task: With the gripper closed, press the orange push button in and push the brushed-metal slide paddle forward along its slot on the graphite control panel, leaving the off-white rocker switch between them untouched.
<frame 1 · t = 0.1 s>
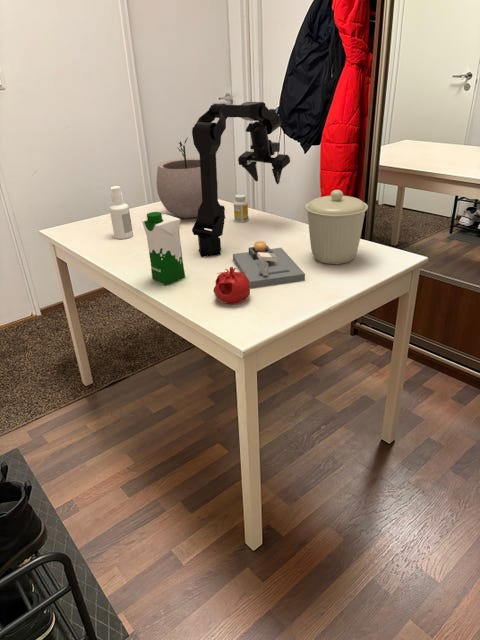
hand: (267, 182, 176), 15 cm above the table, fingers open, 9 cm apart
milk carton: (169, 279, 144), on the table
red pomegranate: (232, 299, 130), on the table
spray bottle: (124, 236, 179), on the table
control panel: (266, 269, 146), on the table
supplement bottle: (241, 220, 189), on the table
push button: (260, 246, 149), point 5 cm above the table, slide at 0.0 cm
paddle: (263, 267, 137), point 4 cm above the table, slide at 0.0 cm
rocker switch: (267, 256, 143), point 4 cm above the table, hinge at 12.0°
plant pot: (190, 216, 198), on the table
canister: (333, 258, 151), on the table
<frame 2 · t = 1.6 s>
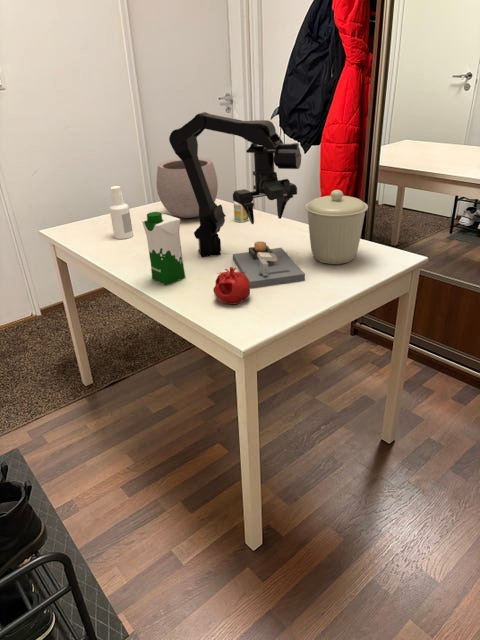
hand: (266, 221, 147), 12 cm above the table, fingers open, 9 cm apart
nothing on the table moved.
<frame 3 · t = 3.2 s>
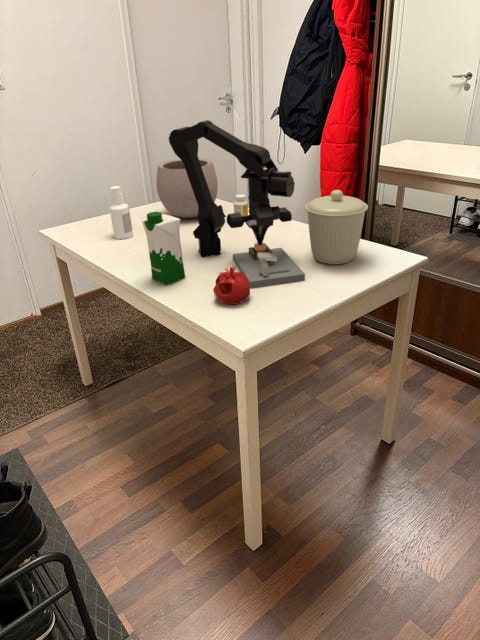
hand: (259, 244, 149), 5 cm above the table, fingers closed, pressing on push button
push button: (260, 247, 150), point 4 cm above the table, slide at 0.4 cm, touching gripper
everything else where it was.
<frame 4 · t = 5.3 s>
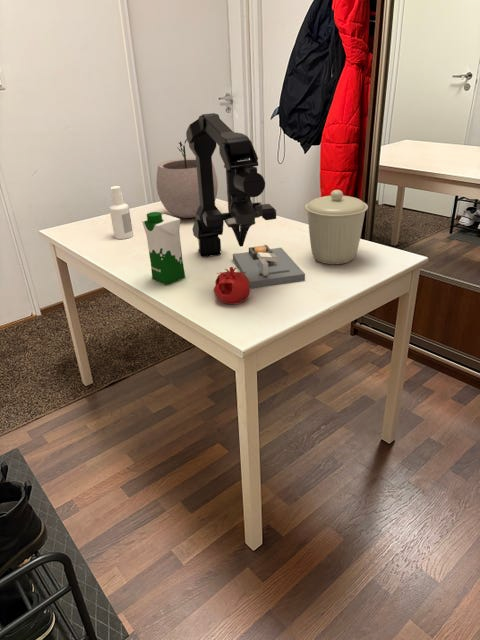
hand: (241, 246, 132), 11 cm above the table, fingers closed
push button: (260, 251, 150), point 3 cm above the table, slide at 1.5 cm
everything else where it was.
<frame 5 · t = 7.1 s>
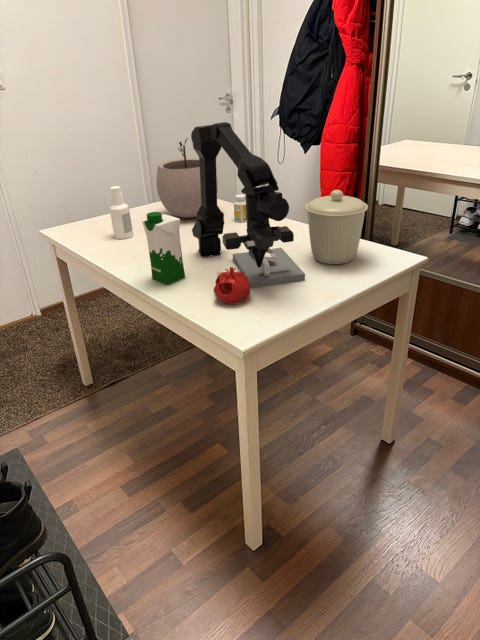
hand: (258, 266, 136), 5 cm above the table, fingers closed
paddle: (265, 267, 137), point 4 cm above the table, slide at 0.4 cm, touching gripper
everything else where it was.
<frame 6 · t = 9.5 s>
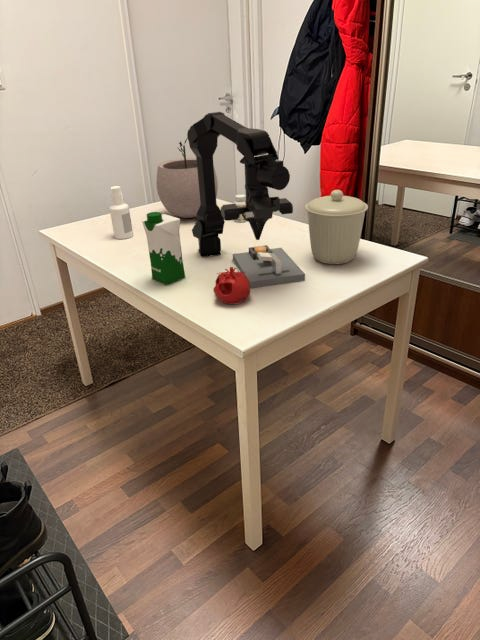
hand: (257, 239, 135), 12 cm above the table, fingers closed
paddle: (276, 265, 137), point 4 cm above the table, slide at 3.8 cm
everything else where it was.
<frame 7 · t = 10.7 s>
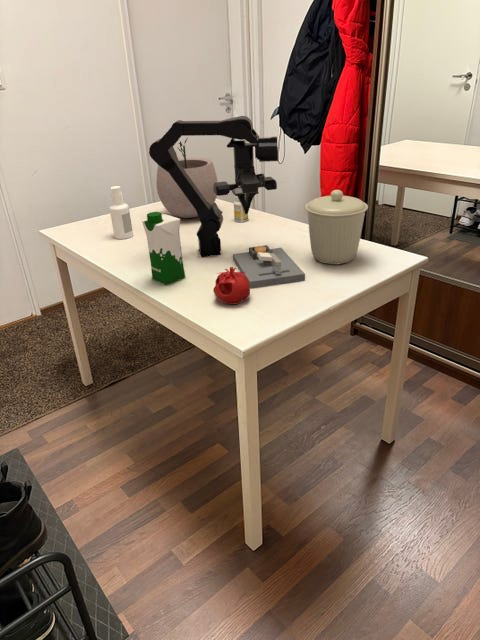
hand: (246, 213, 152), 13 cm above the table, fingers closed
nothing on the table moved.
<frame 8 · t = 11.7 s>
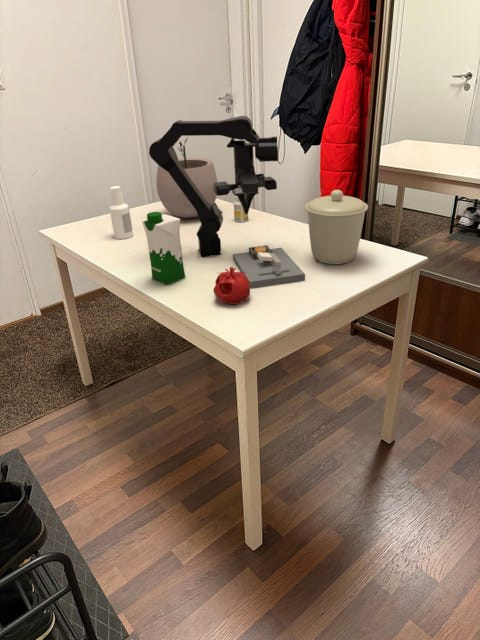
hand: (246, 213, 152), 13 cm above the table, fingers closed
nothing on the table moved.
at the end: push button slide at 1.5 cm; paddle slide at 3.8 cm; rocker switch at +12° (first picture: +12°) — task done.
